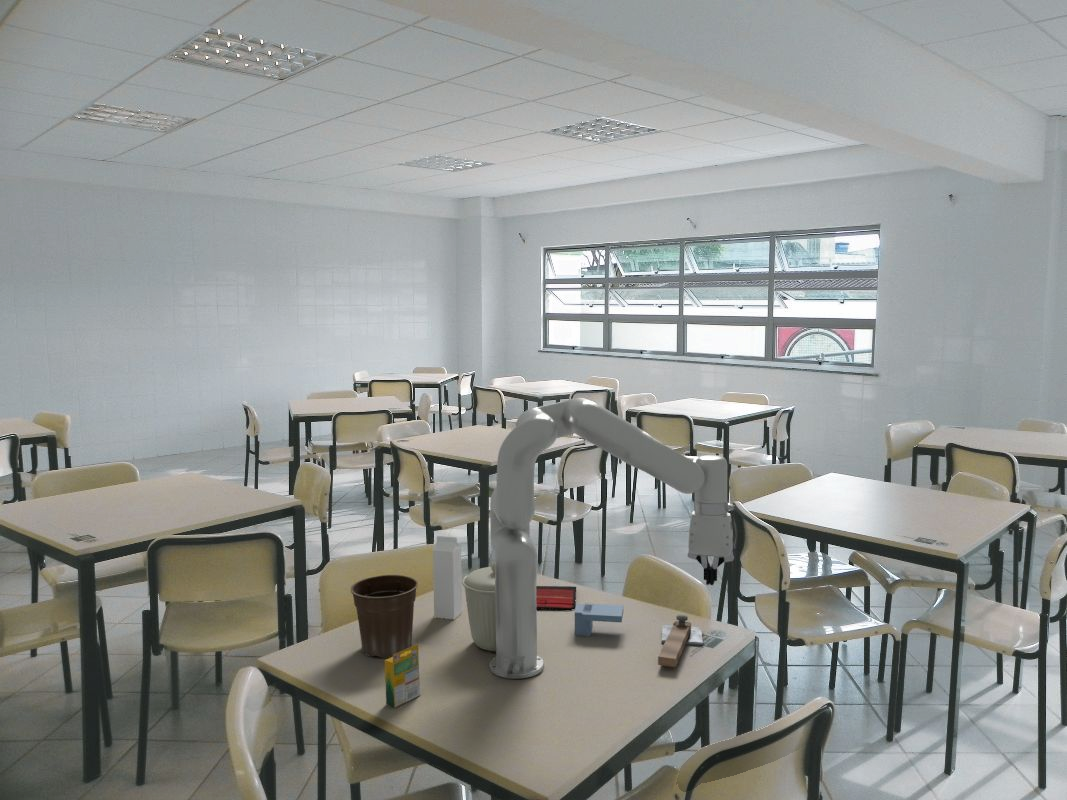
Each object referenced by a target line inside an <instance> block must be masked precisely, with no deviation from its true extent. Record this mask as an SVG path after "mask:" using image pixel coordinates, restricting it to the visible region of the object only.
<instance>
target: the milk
mask: <svg viewBox="0 0 1067 800" xmlns="http://www.w3.org/2000/svg"><path fill="white" fill-rule="evenodd" d="M462 565H463V564H462V545H461V544H459V543H458V537H456V536H445V535H444V536H442V535H437V536H436V541H435V545H434V546H433V549H432V572H433V573H432V574H433V575H432V577H433V578H432V579H433V582H432V583H433V614H434V616H433V617H437V618H436V619H443V618H445V619H444V620H452V619H453V620H456V619H457V618H458V617H459V616H460V615H461V614H462V613H463V585H462V579H463V578H462V577H463V576H462V575H463V574H462ZM453 620H452V621H453Z"/></svg>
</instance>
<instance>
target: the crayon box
mask: <svg viewBox="0 0 1067 800" xmlns="http://www.w3.org/2000/svg"><path fill="white" fill-rule="evenodd" d="M419 660H420V658H419V643H416V644H414V645H412V647H409V648H407V649H405V650H403V651H400V652H398V653H396V654H393V657H388V658H387V659H384V680H385V700H386V705H387V704H388V705H387V706H389V705H390V707H391V706H392V708H394V709H396V708H397V707H399V706H401V705H403V704H405V703H407V702H410V701H411V700H414V699H415V698H417V697H420V695H421V684H420V682H421V681H420V663H419V662H420V661H419ZM395 707H396V708H395Z"/></svg>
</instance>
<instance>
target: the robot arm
mask: <svg viewBox="0 0 1067 800" xmlns="http://www.w3.org/2000/svg"><path fill="white" fill-rule="evenodd" d="M574 434H575V435H576V436H578V437H580V438H581V439H583V440H585V441H586V442H588V443H590V444H592V445H594V446H596V447H597V448H599V449H601V450H603V451H605V452H606V453H608V454H610V455H612V456H613V457H615V458H617V459H618V460H620V461H622V462H624V463H625V464H627V465H629V466H631V467H634V468H636V469H638V470H640V471H642V472H644V473H646V474H648V475H649V476H652V477H653V478H655V479H657V480H659V481H660V482H662V483H664V484H665V485H666V486H669V487H671V488H672V489H674V490H676V491H678V492H679V493H681V494H684V495H685V494H686V495H691V494H692V495H693V494H694V510H693V511H692V512H691V516H690V522H689V530H688V543H687V544H688V553H687V557H688V559H692V560H695V561H697V562H698V563H699V564H700V565H701V568H703V580H704V581H705V583H706V584H705V586H709V585H710V586H714V585H715V582H717V581H718V568H719V567H720V566H721V565H722V564H723V563H729V562H733V561H734V559H735V557H734V553H733V550H734V533H733V532H734V531H733V520H732V515H731V513H729V511H734V504H732V503H729V502H728V461H727V459H726V458H725V457H723V456H721V455H715V454H714V455H712V454H709V455H708V454H706V455H700V456H691V455H689V456H688V455H683V454H681V453H679V452H678V451H676V450H674V449H673V448H670V447H669V446H667V445H666V444H664V443H662V442H661V441H659V440H658V439H656V438H654V437H653V436H652V435H651V434H649V433H647V432H646V431H645V430H643V429H642V428H639V427H638V426H636V425H635V424H632V423H631V422H629V421H627V420H625V419H624V418H622V417H621V416H619V415H617V414H616V413H613V412H612V411H611V410H609V409H607V408H605V407H603V406H601V405H600V404H598V403H596V402H595V401H592V400H590V399H587V398H584V397H575V398H571V399H567V400H562V401H559V402H558V401H557V402H554V403H549V404H546V405H540V406H536V407H533V408H532V407H531V408H529V409H526V410H525V411H523V412H522V413H521V414H520V415H519V416H518V418H517V419H516V423H515V427H514V428H513V429H512V430H511V431H510V432H509V433H508V435H506V437H505V438H504V440H503V441H502V443H501V445H500V448H499V451H498V454H497V455H498V456H497V461H496V463H497V465H496V486H495V488H494V489H493V491H492V493H491V497H490V502H489V503H490V505H489V506H490V508H489V509H490V510H489V512H490V513H489V515H490V527H489V528H490V548H491V552H492V556H493V560H494V562H495V615H496V651H495V656H494V657H493V658H492V659H491V660H490V661H489V670H490V672H491V673H493V675H496V676H498V677H500V678H504V679H509V680H510V679H511V680H513V679H514V680H517V679H519V680H520V679H527V678H531V677H534V676H537V675H539V674H540V673H542V671H543V670H544V668H545V662H544V659H543V658H542V657H540V656H539V655H538V628H537V627H538V625H537V623H538V621H537V620H538V619H537V617H538V616H537V615H538V613H537V610H538V609H537V602H536V586H537V582H538V581H537V578H538V566H539V565H538V563H539V562H538V561H539V560H538V559H539V558H538V554H537V548H536V546H535V544H534V542H533V541H532V539H531V536H530V534H531V533H530V532H531V531H530V530H531V528H530V524H531V522H532V520H533V519H534V516H535V509H536V505H535V481H534V480H535V468H536V467H535V466H536V462H537V459H538V457H540V455H541V454H542V453H543V452H544V451H545V450H547V449H549V448H550V447H551V446H552V445H554V444H555V442H556V440H557V439H560V438H564V437H568V436H571V435H574ZM709 557H713V561H712V563H710V561H709Z"/></svg>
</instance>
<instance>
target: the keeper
mask: <svg viewBox="0 0 1067 800" xmlns="http://www.w3.org/2000/svg"><path fill="white" fill-rule="evenodd" d="M623 615H624V604H610V603H609V604H605V603H589V602H588V603H587V602H585V603H584V604H580V603H576V607H575V609H574V636H584V637H591V635H592V631H593V626H594V625H593V624H594V623H593V622H603V623H605V622H607V623H622V622H623Z"/></svg>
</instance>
